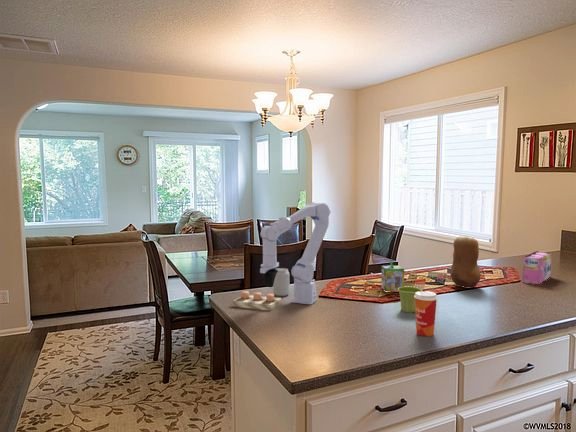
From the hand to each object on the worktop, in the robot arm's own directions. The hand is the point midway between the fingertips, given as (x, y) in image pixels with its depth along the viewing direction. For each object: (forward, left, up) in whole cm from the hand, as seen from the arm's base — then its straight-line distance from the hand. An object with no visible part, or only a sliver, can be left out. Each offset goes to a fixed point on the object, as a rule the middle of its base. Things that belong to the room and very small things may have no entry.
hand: (270, 286), depth 177 cm
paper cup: (-63, +10, -9) cm, 64 cm away
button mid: (+6, 0, -6) cm, 9 cm away
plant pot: (-55, -15, -9) cm, 58 cm away
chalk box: (-44, -44, -9) cm, 63 cm away
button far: (+12, 0, -6) cm, 14 cm away
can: (+3, -19, -9) cm, 21 cm away
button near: (0, 0, -6) cm, 6 cm away
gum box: (-111, -92, -9) cm, 144 cm away
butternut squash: (-76, -63, -9) cm, 99 cm away
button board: (+6, 0, -8) cm, 10 cm away
